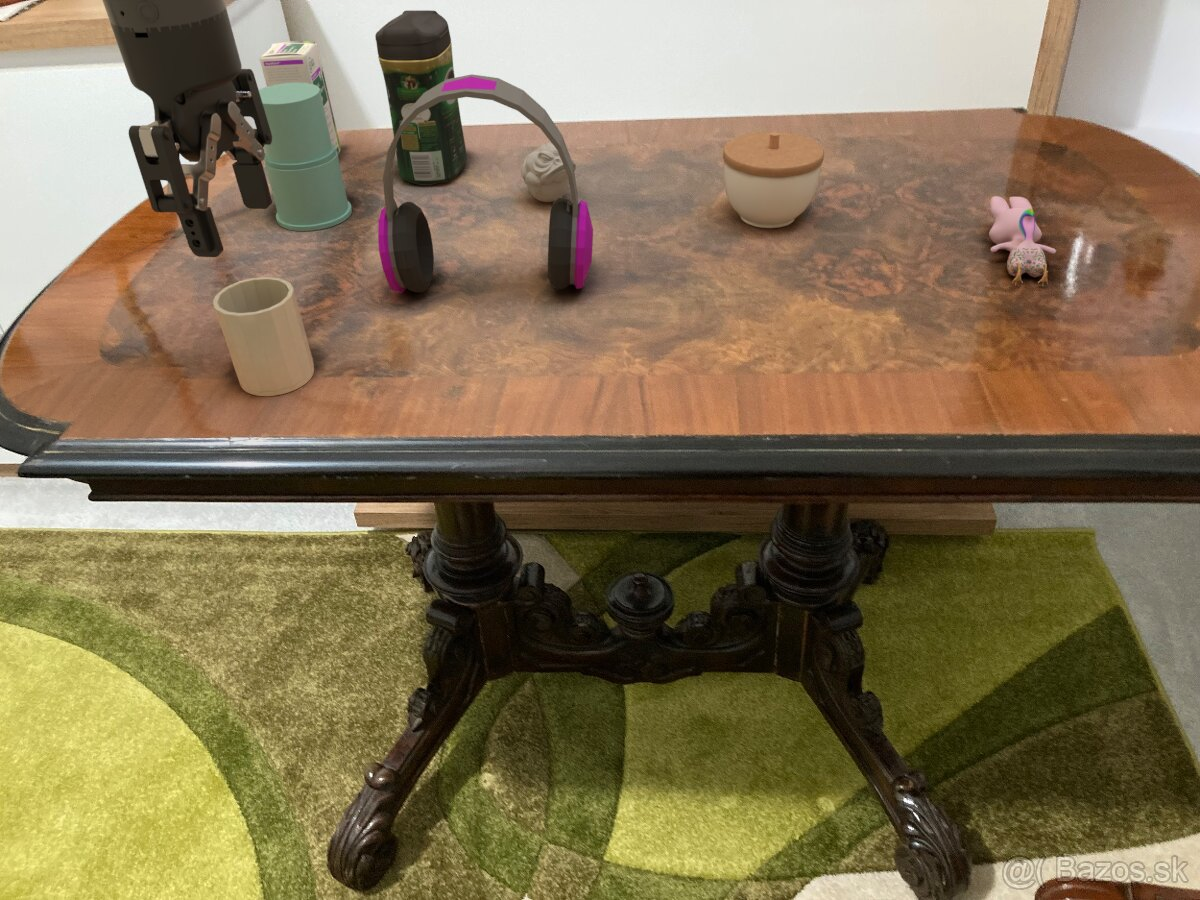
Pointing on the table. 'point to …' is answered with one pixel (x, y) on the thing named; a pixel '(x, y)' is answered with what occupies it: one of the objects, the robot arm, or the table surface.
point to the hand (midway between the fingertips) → (235, 230)
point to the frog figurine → (545, 174)
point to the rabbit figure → (1018, 237)
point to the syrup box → (299, 73)
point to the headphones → (407, 226)
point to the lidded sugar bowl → (771, 176)
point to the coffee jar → (410, 68)
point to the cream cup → (265, 335)
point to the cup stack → (302, 159)
